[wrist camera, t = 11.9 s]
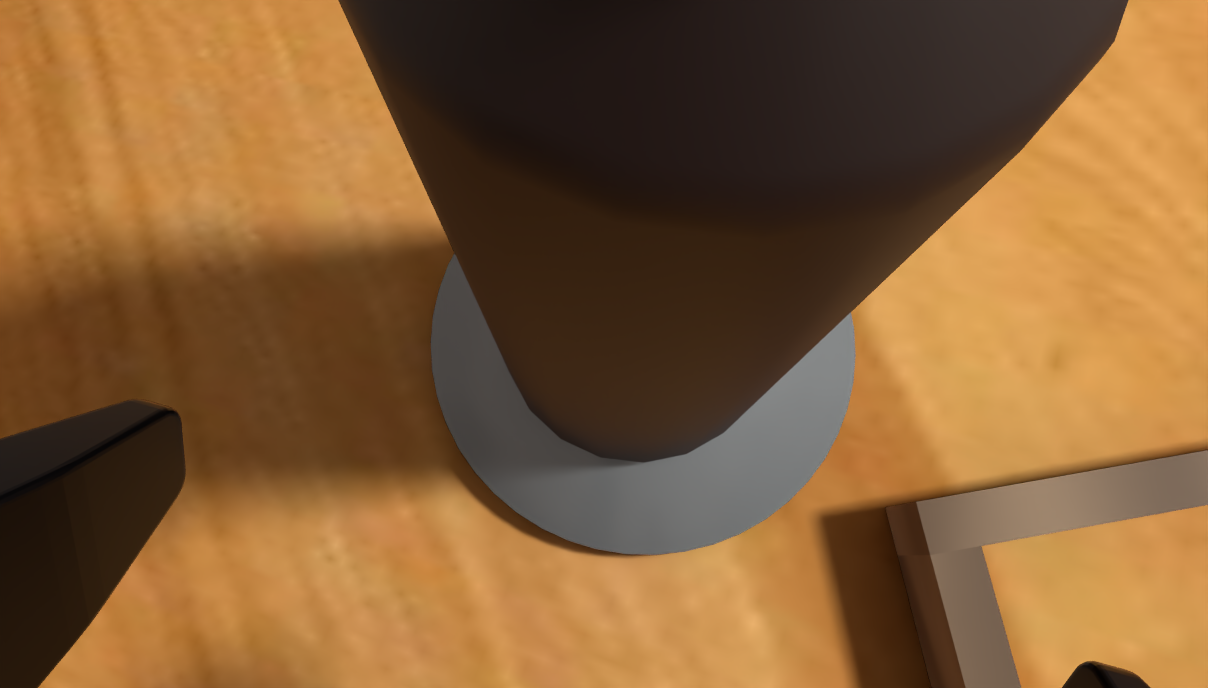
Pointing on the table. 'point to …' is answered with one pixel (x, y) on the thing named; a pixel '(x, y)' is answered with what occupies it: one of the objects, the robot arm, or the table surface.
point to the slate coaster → (626, 488)
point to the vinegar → (702, 175)
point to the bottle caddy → (970, 520)
